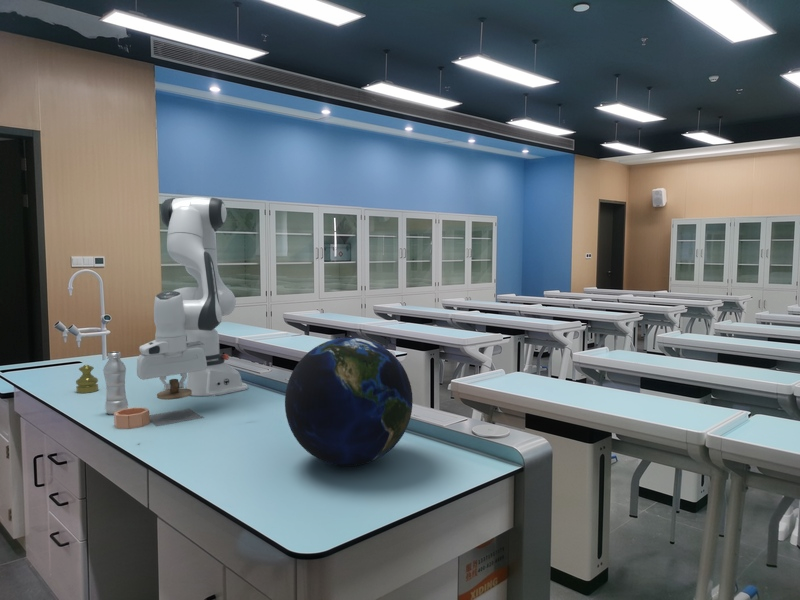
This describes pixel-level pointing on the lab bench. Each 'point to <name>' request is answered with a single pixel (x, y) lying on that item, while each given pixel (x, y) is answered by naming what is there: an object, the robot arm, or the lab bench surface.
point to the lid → (174, 391)
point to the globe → (348, 401)
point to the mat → (174, 417)
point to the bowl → (131, 418)
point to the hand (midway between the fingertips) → (174, 388)
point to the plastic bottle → (115, 383)
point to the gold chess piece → (86, 380)
